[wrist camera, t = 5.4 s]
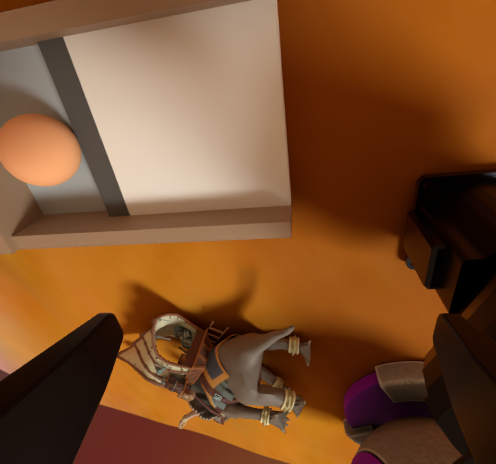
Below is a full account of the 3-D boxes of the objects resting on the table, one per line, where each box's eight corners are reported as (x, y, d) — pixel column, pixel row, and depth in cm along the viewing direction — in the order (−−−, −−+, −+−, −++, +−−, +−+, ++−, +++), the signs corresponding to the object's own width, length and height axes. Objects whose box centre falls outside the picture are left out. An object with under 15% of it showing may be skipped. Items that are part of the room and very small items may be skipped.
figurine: (260, 475, 30) (95, 426, 30) (267, 410, 35) (125, 368, 34) (348, 372, 18) (74, 291, 18) (340, 297, 23) (125, 232, 23)
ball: (-40, 125, 14) (7, 116, 18) (3, 202, 16) (38, 180, 20) (45, 110, 15) (75, 105, 18) (78, 188, 17) (100, 169, 20)
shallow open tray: (275, -28, 14) (268, -51, 10) (291, 208, 20) (291, 242, 16) (-57, 41, 17) (-143, 40, 14) (43, 224, 23) (0, 254, 20)
